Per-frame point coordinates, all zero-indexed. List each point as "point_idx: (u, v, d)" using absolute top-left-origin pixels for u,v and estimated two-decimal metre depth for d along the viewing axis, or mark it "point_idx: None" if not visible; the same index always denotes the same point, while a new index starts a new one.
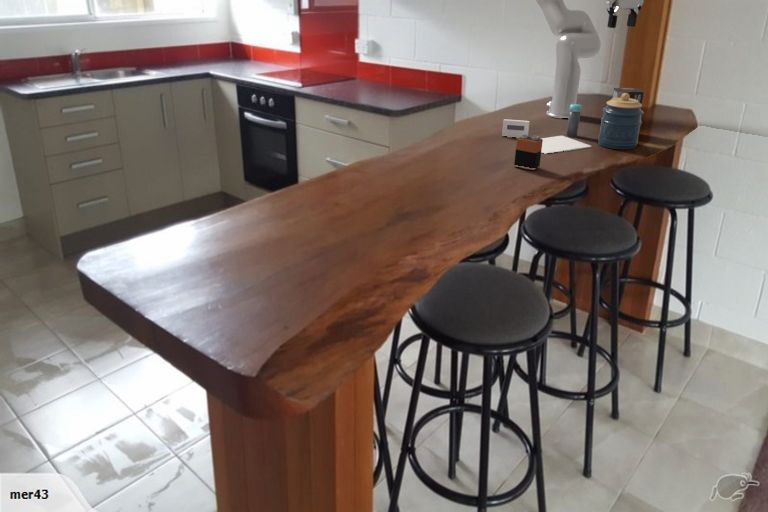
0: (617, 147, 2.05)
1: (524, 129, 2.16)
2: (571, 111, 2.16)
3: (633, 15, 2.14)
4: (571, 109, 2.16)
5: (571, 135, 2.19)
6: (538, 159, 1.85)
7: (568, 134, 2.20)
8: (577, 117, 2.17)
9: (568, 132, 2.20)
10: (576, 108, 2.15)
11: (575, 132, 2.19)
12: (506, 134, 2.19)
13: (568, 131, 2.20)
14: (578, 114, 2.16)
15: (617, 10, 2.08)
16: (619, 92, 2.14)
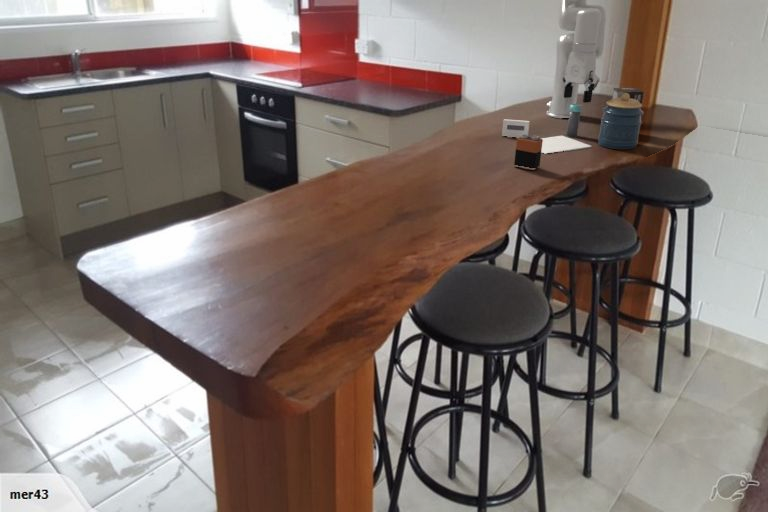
0: (617, 147, 2.05)
1: (524, 129, 2.16)
2: (571, 111, 2.16)
3: (571, 87, 2.17)
4: (571, 109, 2.16)
5: (571, 135, 2.19)
6: (538, 159, 1.85)
7: (568, 134, 2.20)
8: (577, 117, 2.17)
9: (568, 132, 2.20)
10: (576, 108, 2.15)
11: (575, 132, 2.19)
12: (506, 134, 2.19)
13: (568, 131, 2.20)
14: (578, 114, 2.16)
15: None
16: (619, 92, 2.14)
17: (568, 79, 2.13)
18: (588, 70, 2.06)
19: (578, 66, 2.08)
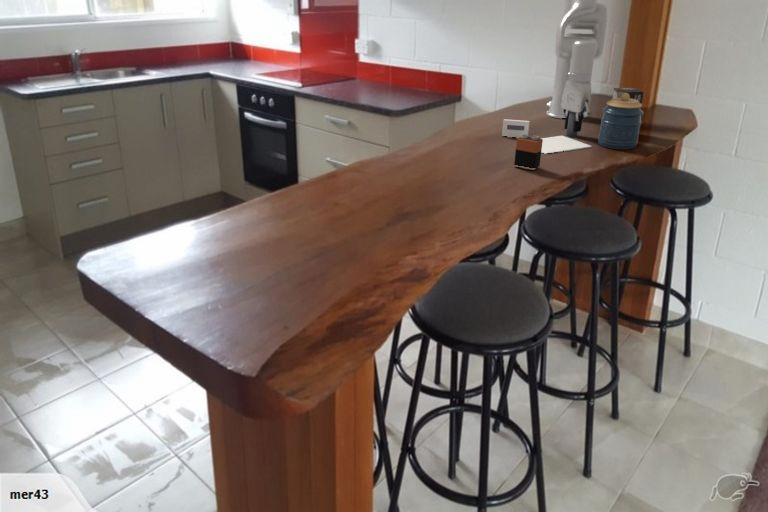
0: (617, 147, 2.05)
1: (524, 129, 2.16)
2: (571, 111, 2.16)
3: None
4: None
5: (571, 135, 2.19)
6: (538, 159, 1.85)
7: (568, 134, 2.20)
8: None
9: (568, 132, 2.20)
10: None
11: (575, 132, 2.19)
12: (506, 134, 2.19)
13: (568, 131, 2.20)
14: None
15: None
16: (619, 92, 2.14)
17: (564, 107, 2.18)
18: (583, 99, 2.10)
19: (574, 95, 2.12)
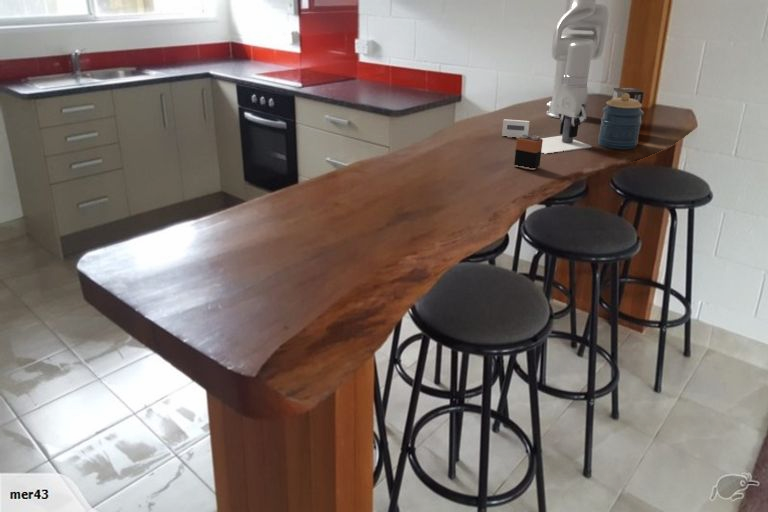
0: (617, 147, 2.05)
1: (524, 129, 2.16)
2: (567, 116, 2.07)
3: None
4: None
5: (567, 141, 2.10)
6: (538, 159, 1.85)
7: (563, 139, 2.11)
8: None
9: (563, 138, 2.11)
10: None
11: (571, 137, 2.10)
12: (506, 134, 2.19)
13: (563, 136, 2.10)
14: None
15: None
16: (619, 92, 2.14)
17: (559, 111, 2.09)
18: (580, 103, 2.01)
19: (570, 99, 2.03)
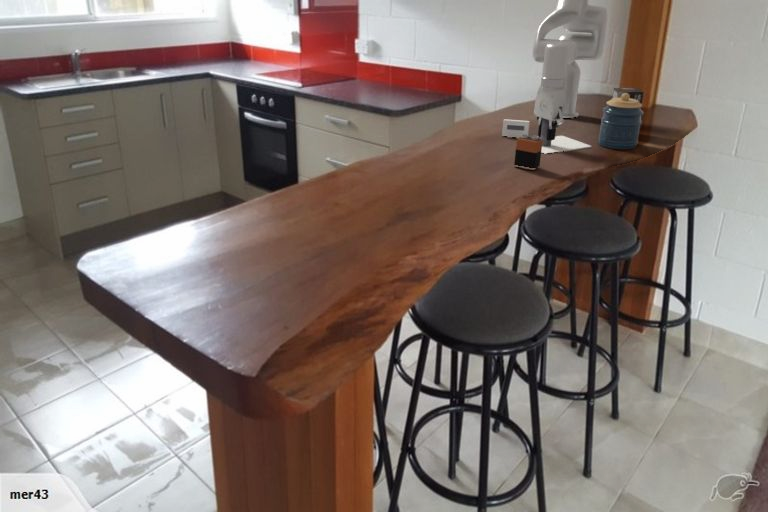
0: (617, 147, 2.05)
1: (524, 129, 2.16)
2: None
3: None
4: None
5: (544, 144, 2.06)
6: (538, 159, 1.85)
7: None
8: None
9: None
10: None
11: (549, 141, 2.06)
12: (506, 134, 2.19)
13: None
14: None
15: None
16: (619, 92, 2.14)
17: (537, 114, 2.05)
18: (557, 106, 1.97)
19: (547, 101, 1.99)
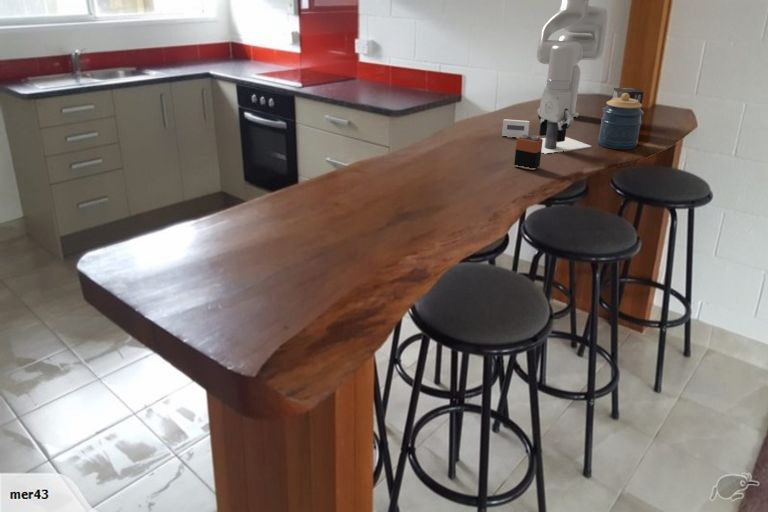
0: (617, 147, 2.05)
1: (524, 129, 2.16)
2: (549, 121, 2.01)
3: (546, 124, 2.06)
4: None
5: (550, 147, 2.04)
6: (538, 159, 1.85)
7: (546, 146, 2.05)
8: (556, 128, 2.01)
9: (546, 144, 2.05)
10: None
11: (554, 144, 2.04)
12: (506, 134, 2.19)
13: (546, 143, 2.04)
14: (557, 125, 2.01)
15: None
16: (619, 92, 2.14)
17: (542, 116, 2.02)
18: (562, 108, 1.95)
19: (552, 103, 1.97)
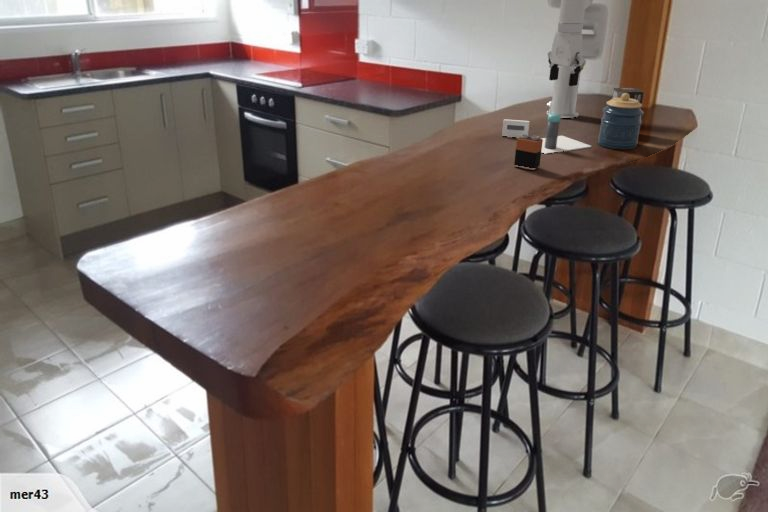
0: (617, 147, 2.05)
1: (524, 129, 2.16)
2: (549, 121, 2.01)
3: (556, 68, 2.06)
4: (549, 119, 2.01)
5: (550, 147, 2.04)
6: (538, 159, 1.85)
7: (546, 146, 2.05)
8: (556, 128, 2.01)
9: (546, 144, 2.05)
10: (554, 118, 2.00)
11: (554, 144, 2.04)
12: (506, 134, 2.19)
13: (546, 143, 2.04)
14: (557, 125, 2.01)
15: None
16: (619, 92, 2.14)
17: (553, 61, 2.02)
18: (574, 52, 1.94)
19: (564, 47, 1.96)
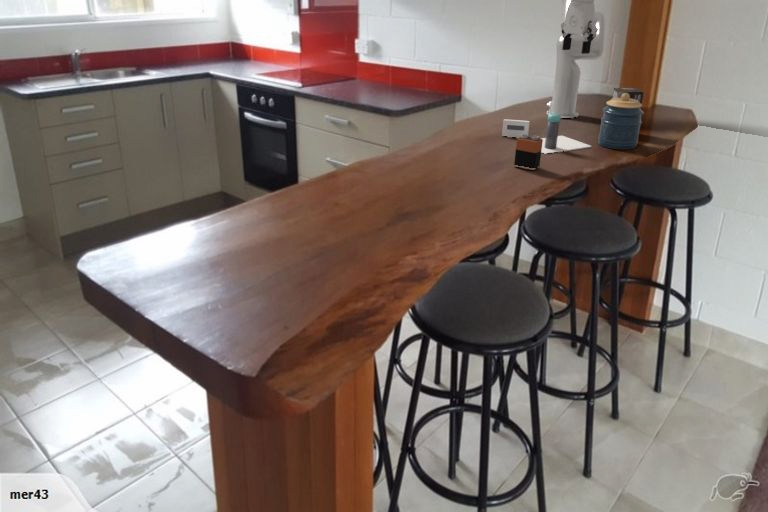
0: (617, 147, 2.05)
1: (524, 129, 2.16)
2: (549, 121, 2.01)
3: (569, 39, 2.17)
4: (549, 119, 2.01)
5: (550, 147, 2.04)
6: (538, 159, 1.85)
7: (546, 146, 2.05)
8: (556, 128, 2.01)
9: (546, 144, 2.05)
10: (554, 118, 2.00)
11: (554, 144, 2.04)
12: (506, 134, 2.19)
13: (546, 143, 2.04)
14: (557, 125, 2.01)
15: None
16: (619, 92, 2.14)
17: (567, 30, 2.12)
18: (587, 20, 2.05)
19: (577, 16, 2.07)
